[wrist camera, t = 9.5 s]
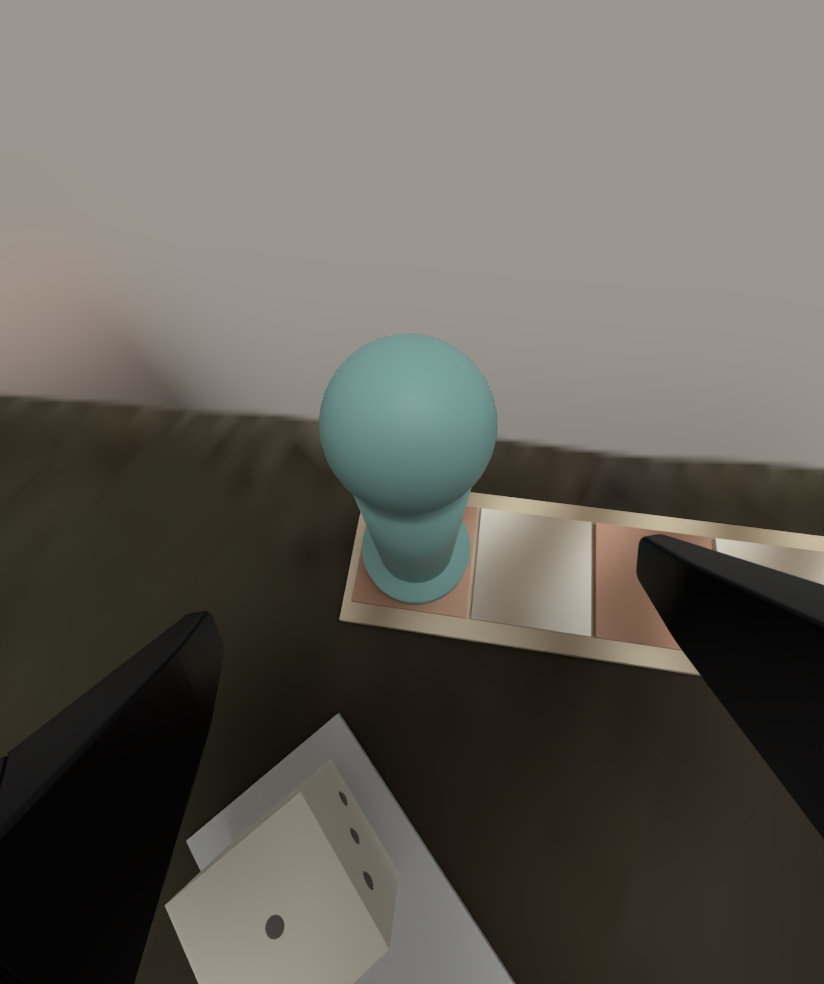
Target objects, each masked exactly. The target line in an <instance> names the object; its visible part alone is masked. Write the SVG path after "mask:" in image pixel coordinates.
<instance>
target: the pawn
mask: <svg viewBox="0 0 824 984" xmlns="http://www.w3.org/2000/svg"><path fill="white" fill-rule="evenodd" d="M319 428H320V439H321V444H322V448H323V451H324V454H325V457H326V460H327V462H328V464H329V466H330V468H331V470H332V471H333V473H334V474H335V475H336V477H337V478H338V480H339V481H340V482H341V483H342V485H343V486H344V487H345V488H346V489H347V490H348V491H349V492H351V493H352V494H353V495H354V498H355V500H356V502H357V505H358V507H359V509H360V512H361V514H362V516H363V519H364V521H365V523H366V525H367V527H366V529H365V532H364V536H363V540H362V556H363V561H364V564H365V567H366V570H367V572H368V574H369V575H370V577H371V578H372V580H373V581H374V583H375V584H376V586H377V587H378V588H379V589H380V590H381V591H382V592H383V593H384V594H386V595H387V596H389V597H390V598H392V599H394V600H396V601H398V602H402V603H405V604H411V605H420V604H427V603H431V602H434V601H437V600H439V599H441V598H443V597H444V596H446V595H447V594H448V593H450V592H451V591H452V590H453V589H454V588H455V587H456V585H457V584H458V583H459V581H460V580H461V578H462V576H463V574H464V572H465V570H466V567H467V565H468V561H469V557H470V539H469V535H468V531H467V529H466V526H465V524H464V522H463V521H462V519H463V515H464V512H465V509H466V505H467V502H468V498H469V495H470V491H471V488H472V486H473V485H474V484H475V483H476V482H477V481H478V479H479V478H480V477H481V475H482V474H483V472H484V470H485V469H486V467H487V465H488V463H489V461H490V458H491V456H492V454H493V450H494V446H495V442H496V436H497V412H496V407H495V401H494V398H493V395H492V393H491V390H490V387H489V385H488V383H487V381H486V379H485V377H484V376H483V375H482V373H481V372H480V370H479V369H478V368H477V366H476V365H475V364H474V363H473V362H472V361H471V360H470V359H469V358H468V357H467V356H466V355H465V354H463V353H462V352H461V351H460V350H458V349H457V348H455V347H453V346H452V345H450V344H448V343H446V342H444V341H442V340H439V339H436V338H433V337H429V336H425V335H418V334H399V335H392V336H387V337H383V338H380V339H377V340H375V341H372V342H370V343H368V344H366V345H365V346H363V347H361V348H359V349H358V350H357V351H355V352H354V353H353V354H352V355H351V356H349V357H348V358H347V359H346V360H345V361H344V362H343V363H342V364H341V366H340V367H339V368H338V369H337V370H336V372H335V374H334V375H333V377H332V379H331V380H330V382H329V384H328V386H327V388H326V391H325V393H324V397H323V400H322V404H321V409H320V417H319Z"/></svg>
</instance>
